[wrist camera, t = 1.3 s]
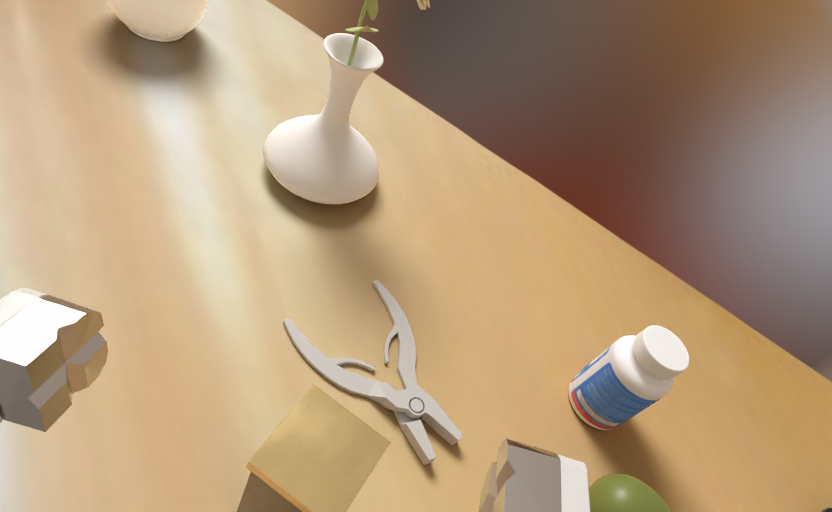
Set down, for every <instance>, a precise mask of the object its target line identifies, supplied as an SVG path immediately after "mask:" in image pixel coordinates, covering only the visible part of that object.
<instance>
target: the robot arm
mask: <svg viewBox="0 0 832 512" xmlns="http://www.w3.org/2000/svg"><path fill="white" fill-rule="evenodd" d="M103 326H104V324H103V320H102V315H101V313H99V312H97V311H94V310H91V309H88V308H85V307H82V306H79V305H76V304H73V303H71V302H68V301H65V300H62V299H59V298H56V297H53V296H50V295H47V294H44V293H41V292H38V291H35V290H32V289H29V288H26V287H23V288H20V289H16V290H13V291H12V292H10V293H9V294H7V295H6V296H5V297H3V298H2V299H1V300H0V423H1V422H2V419H3V420H7V421H10V422H14V423H17V424H20V425H24V426H27V427H31V428H34V429H37V430H41V431H44V432H46V431H47V430H48V429H49V428H50V427H51V426H52V425H53V424H54V423H55V421H56V420H57V419H58V418H59V417H60V416H61V415H62V414H63V413H64V412H65V411H66V410H67V409H68V408H69V407H70V406H71V405H72V394H73V393H75V392H77V391H80V390H82V389H85V388H87V387H89V386H90V385H91V384H92V382H93V381H94V380H95V379H96V378H97V377H98V376H99V374H100V372H101V370H102V368H103V366H104V365H105V363H106V359H107V353H108V349H107V342H106V341H105V339H104V338H103V337H102V336H101V334H100V333H99V332H98V331H99V330H100V329H101V328H102V327H103ZM479 512H591V511H590V498H589V486H588V473H587V467H586V465H585V463H583V462H580V461H577V460H573V459H570V458H567V457H564V456H561V455H557V454H556V453H553V452H550V451H546V450H543V449H539V448H536V447H533V446H529V445H526V444H523V443H519V442H516V441H513V440H509V439H505V440H504V441H503V442H502V444H501V446H500V448H499V451H498V461H497V462H494V463H492V464H491V466H490V468H489V470H488V473H487V475H486V478H485V481H484V485H483V488H482V494H481V499H480V507H479Z"/></svg>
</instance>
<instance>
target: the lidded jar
mask: <svg viewBox="0 0 832 512" xmlns="http://www.w3.org/2000/svg"><path fill="white" fill-rule="evenodd" d="M106 1H107V3H108V5H109V7H110V9H111V10H112V11H113V12H114V14H115V15H116V16H117V17H118V18H119V19H120V20H121V21H122V22H123V23H124V24H125V25H126V26H127V27H128V28H129V30H130V31H132V32H133V33H134V34H136V35H138V36H140V37H142V38H145V39H148V40H152V41H158V42H172V41H176V40H179V39H181V38H183V37H184V36H185V34H186V33H188V32H190V31H191V30H193V29H194V28H195V27H196V26H197V25H198V24H199V22H200V21H201V19H202V17H203V16H204V13H205V10H206V8H207V3H208V0H106Z"/></svg>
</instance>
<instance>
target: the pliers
mask: <svg viewBox="0 0 832 512" xmlns="http://www.w3.org/2000/svg"><path fill="white" fill-rule="evenodd" d="M372 284H373V286H374V287H375V289H376V290H377V292H378V294H379V295H380V297H381V299H382V301H383V303H384V304H385V306H386V308H387V310H388V312H389V315H390V317H391V320H392V322H393V328H392V331H391V332H390V334H389V335H388V337H387V339H386V342H385V345H384V364H387V363H388V362H389V359H388V347H389V343H390V341H391V339H392V338H393V337H394V336H395V335H396V334H397V338H398V343H399V346H398V363H397V371H398V374H399V376H400V378H401V381H402V383H403V386H404V388H405V389H404V390H400V391H396V390H395V389H394V388H393V387H392V386H391V385H390V384H388V383H384V382H380V381H376V380H373V379H370V378H367V377H364V376H360V375H357V374H355V373H352V372H349V371H347V370H345V369H343V368H342V367H340V366H339V365H343V364H353V365H358V366H361V367H364V368H366V369H368V370H370V371H372V372H373V371H374V369H375V367H374V366H372V365H370V364H368V363H366V362H363V361H361V360H358V359H352V358H329V357H326V356H325V355H324V354H323V353H322V352H320V351H319V350H318V349H317V348H316V347H315V346H314V345H313V344H312V343H311V342H310V341H309V340H308V339H307V338H306V337H305V336H304V335H303V334H302V332H301V331H300V330H299V329H298V328H297V327H296V326H295V324H294V323H293V322H292V321H291V319H290V318H288V319H285V320H284V322H283V323H284V326H285V328H286V330H287V332H288V334H289V336H290V338H291V340H292V342H293V344H294V345H295V347H296V348H297V350H298V351H299V352H300V354H301V355H302V356H303V357H304V358H305V360H306V361H307V362H308V363H309V364H310V365H311V366H312V367H313V368H314V369H315V370H316V371H317V372H319V373H320V374H321V375H322V376H324V377H325V378H326V379H327V380H329V381H330V382H332V383H333V384H335V385H336V386H338V387H340V388H342V389H344V390H346V391H348V392H350V393H353V394H357V395H360V396H364V397H368V398H370V399H372V400H374V401H376V402H378V403H380V404H382V405H383V406H384V407H385V408H387V409H389V410H392V411H394V414H395V416H396V419H397V421H398V424H399V426H400V428H401V430H402V431H403V433H404V434H405V436H406V438H407V439H408V441H409V443H410V444H411V446H412V447H413V449H414V451H415V452H416V454H417V455H418V457H419V459H420V460H421V462H422V463H423V465H426V464H429V463H431V462H432V461H433V460H434V459H435V458H436V455H435V453H434V450H433V448H432V446H431V443H430V441H429V438H428V436H427V434H426V431H425V429H424V426H423V424H422V421H421V420H418V419H419V418H420V417H421V416H422V420H423V421H424V422H426V423H427V424H428V425H429V426H430V427H431V428H432V429H433V430H435V431H436V432H437V433H438V434H439V435H440V436H441V437H442V438H444V439H445V440H446V441H447V442H448V443H449V444H450V445H452V446H453V445H455V444H456V443H457V442H458V441H459V440H460V438H461V437H462V435H463V434H462V433H461V432H460V430H459V429H458V428H457V427H456V425H455V424H454V423H453V422H452V421H451V419H450V418H449V417H448V416H447V414H446V413H445V412H444V411H443V409H442V408H441V407H440V406H439V405H438V403H437V402H436V401H435V400H434V399H433V398H432V397H431V396H430V395H429V394H427V393H426V392H425V391H424V390H423V389H422V388H421V387H419V386H418V384H417V381H416V373H415V362H416V346H415V341H414V337H413V333H412V330H411V328H410V325H409V322H408V320H407V318H406V316H405V314H404V312H403V310H402V309H401V307H400V305H399V304H398V302H397V301H396V299H395V298H394V297H393V295H392V294H391V293H390V292H389V291H388V290H387V289H386V287H385V286H384V285H383V284H382V283H381V282H380V281H379V280H378V279H377V280H375V281H373V283H372Z"/></svg>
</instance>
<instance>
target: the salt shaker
mask: <svg viewBox="0 0 832 512" xmlns="http://www.w3.org/2000/svg"><path fill="white" fill-rule="evenodd" d="M822 512H832V508H827V509H825V510H823V511H822Z"/></svg>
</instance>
